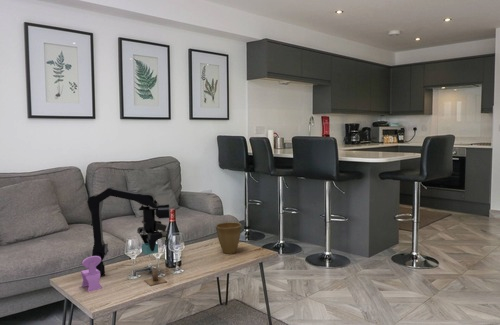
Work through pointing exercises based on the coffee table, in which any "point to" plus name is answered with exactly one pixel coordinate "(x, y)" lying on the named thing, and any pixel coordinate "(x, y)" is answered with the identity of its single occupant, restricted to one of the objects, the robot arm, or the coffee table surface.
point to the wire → (143, 270)
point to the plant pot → (229, 236)
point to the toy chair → (91, 273)
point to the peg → (155, 279)
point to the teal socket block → (147, 249)
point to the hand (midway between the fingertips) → (150, 249)
